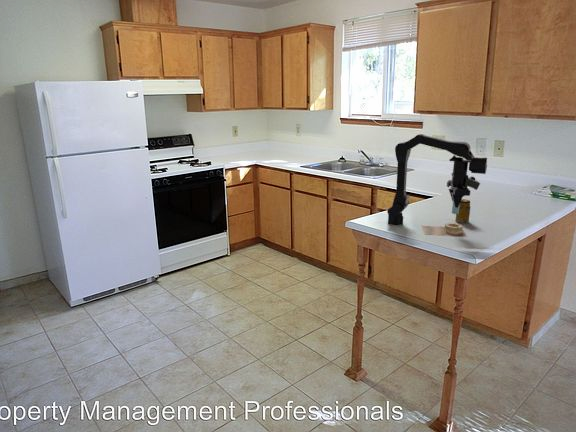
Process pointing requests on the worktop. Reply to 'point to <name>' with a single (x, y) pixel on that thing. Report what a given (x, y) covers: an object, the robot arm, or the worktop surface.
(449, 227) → the bead
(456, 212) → the dowel
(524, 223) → the worktop surface
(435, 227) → the board
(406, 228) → the worktop surface
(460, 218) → the condiment
